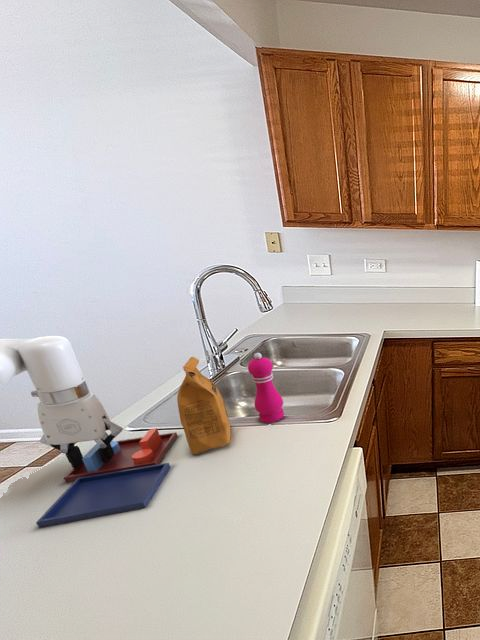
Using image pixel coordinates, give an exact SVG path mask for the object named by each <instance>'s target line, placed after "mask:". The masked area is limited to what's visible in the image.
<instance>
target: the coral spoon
mask: <svg viewBox="0 0 480 640" xmlns="http://www.w3.org/2000/svg"><path fill="white" fill-rule="evenodd" d="M160 435H161V434H160V432H159V430H158V428H157V427H156V428H149V429H148V431H147V432H146V433H145V435H143V436H142V437H143V438H142V439H141V441H140V442H139V443H140V445H141V448H142V450H140V451H138V452H136V453H134V454H133V455H132V459H133V461H134V463H135V465H137V464H143V463H149V462H151V461H152V460H153V459H154V458H155V457H154V454H153V453H154V452H155V450H156V449H157V447H158V446H159V445H160V443H161V442H162V440H161V438H160Z"/></svg>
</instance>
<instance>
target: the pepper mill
mask: <svg viewBox="0 0 480 640" xmlns="http://www.w3.org/2000/svg"><path fill="white" fill-rule="evenodd" d="M253 357H254V358H253V359H251V360H250V361H249V362H248V364H247V371H248V373H249V374H250V375H251V379H252V382H253V383H254V384H255V386H256V394H255V398H254V409H255V410H256V412H258V417H259V421H260V422H261V423H264V424H271V423H274V422H278V421H280V420H282V418H284V416H285V411H284V409H283V408H282V407H283V406H284V399H283V397H282V395H281V394H280V393H279V391H278V390H277V389H276V387H275V385H274V382H273V378H274V374H273V372H272V371H273V369H274V366H273V365H274V364H273V362H272V360H271V359H270V358H268V357H263V356H262V354H261V353H260V352H256V353H254V355H253Z"/></svg>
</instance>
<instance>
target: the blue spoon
mask: <svg viewBox="0 0 480 640" xmlns="http://www.w3.org/2000/svg"><path fill="white" fill-rule="evenodd" d="M117 441H118V440H112V441H111V442H110V444H111V446H112V449H113V451H114V454H116V453H118V452H119V451H120V446H119V444H118V442H117ZM99 448H100V446H99V445H98V444H97V443H95V444H94V445H93V446H92V448H91V449H89V451H88V452H86V453H85V455H84V456H83V458H82V460H83V462H84V464H85V466H86V469H87V471H88V473H89V472H95V471H98V470H99V468H100V467H101V466H102V465H103V464H104V463H103V461H102V459H101V456H100V454H99V451H98V449H99Z"/></svg>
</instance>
